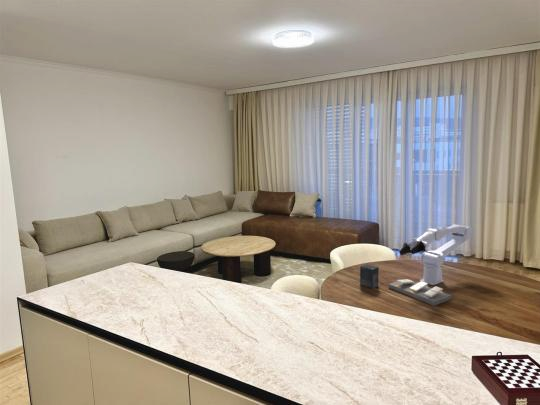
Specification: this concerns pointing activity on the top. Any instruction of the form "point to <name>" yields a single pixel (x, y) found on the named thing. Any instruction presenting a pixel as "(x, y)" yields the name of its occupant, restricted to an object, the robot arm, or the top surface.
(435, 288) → the rocker
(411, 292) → the switch panel
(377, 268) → the box
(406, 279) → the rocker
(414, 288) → the rocker
